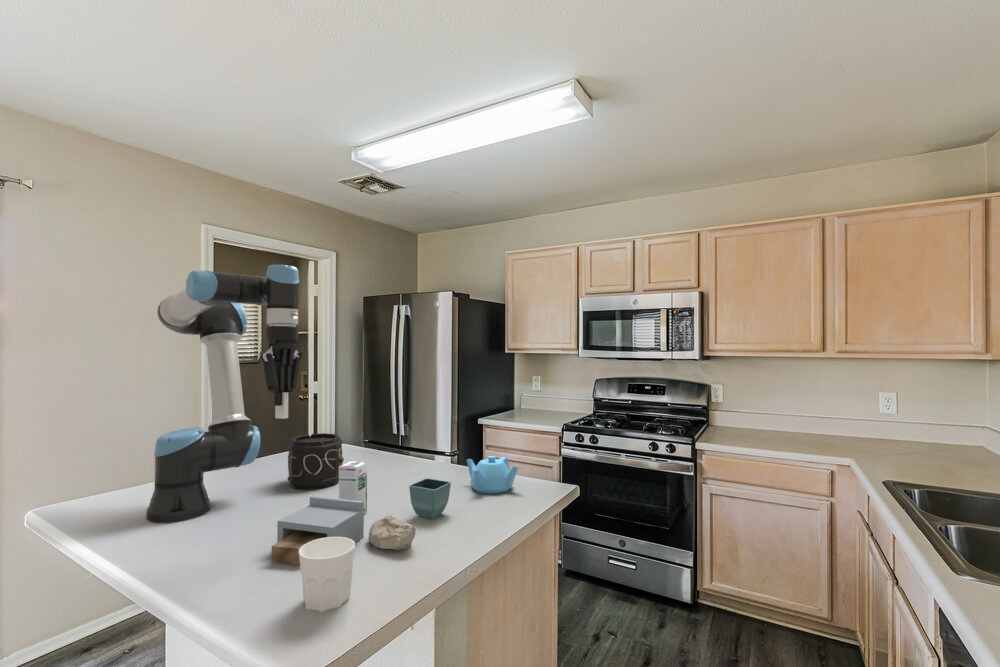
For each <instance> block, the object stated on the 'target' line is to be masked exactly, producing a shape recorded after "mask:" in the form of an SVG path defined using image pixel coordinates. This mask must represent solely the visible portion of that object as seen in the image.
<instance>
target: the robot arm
mask: <svg viewBox="0 0 1000 667" xmlns="http://www.w3.org/2000/svg"><path fill="white" fill-rule="evenodd" d="M266 269H267V270H266V274H265V276H261V275H260V276H259V275H251V274H249V275H247V274H239V273H237V274H236V273H230V272H229V273H228V272H220V271H219V272H218V271H210V270H192V271H190V272H189V273H188V274H187V277H186V280H185V288H184V289H183V290H181V291H180V292H179V293H177V294H171V295H168V296H167V297H165V298H164V299H163V300H162V301H160V303H159V305H158V307H157V317H158V320H159V322H160V323H161V324H162V325H163V326H164V327H165V328H167V329H169V330H171V331H172V332H174V333H177V334H182V335H190V336H191V335H192V336H193V335H195V336H196V335H197V336H198V335H199V341H200V343H201V344H203V345H205V346H206V354H207V366H208V367H207V368H208V375H209V376H208V377H209V379H208V380H209V388H210V397H211V398H210V400H211V409H212V421H211V422H210V423H209V424H208V425H207V429H208V430H207V431H206V430H205V429H204V428H203V427H197V426H196V427H191V428H190V427H188V428H183V429H182V428H181V429H177V430H173V431H170V432H167V433H164V434H162V435H161V436H159V437H158V438H156V441H155V447H154V453H153V456H154V489H153V493H152V495H151V499H150V502H149V505H148V507H147V509H146V514H145V515H146V521H148V522H151V523H155V524H156V523H159V524H163V523H164V524H165V523H174V522H176V523H177V522H181V521H186V520H190V519H194V518H197V517H199V516H203V515H205V514H206V513H208V512H209V511H210V510H211V500H210V497H209V496H208V492H207V489H206V487H205V484H204V474H205V473H209V472H214V471H220V470H225V469H232V468H240V467H241V466H247V465H251V464H252V463H253V462H255V460H256V458H257V457H258V454H259V451H260V447H261V434H260V432H261V431H260V430H259V429H260V428H259V427H257V426H256V425H252V420H251V418H249V417H247V416H246V414H245V405H244V398H243V389H242V388H243V387H242V379H241V378H242V376H241V369H240V360H239V350H238V343H239V342H240V341H241V340H242V336H244V335H245V333H246V332H247V329H248V326H247V325H248V316H247V312H246V310H245V308H244V305H242V304H247V305H255V306H263V307H266V313H265V314H266V316H265V317H266V319H265V320H266V324H267V325H268V326H267V327H266V330H265V331H266V334H265V335H266V338H265V339H266V341H268V342H269V343H268V346H267V350H266V352H265V353H263V352H262V353H260V354H259V356H260V359H261V361H262V364H263V369H264V370H263V371H264V374H265V375H264V376H265V381H266V387H267V388H266V389H267V391H269V392H270V393H271V394H273V393H274V394H273V395H274V398H273V400H274V401H273V402H274V404H273V405H274V408H275V409H274V410H275V412H274V413H275V414H274V417H275V419H278V420H279V419H282V420H285V419H289V404H290V393H293V392H294V389H296V387H297V382H298V381H297V380H298V375H299V370H300V363H301V360H302V358H303V355H304V354H303V352H301V351H300V352H299V351H298V350H297V346H296V342H297V341H298V340H299V328H298V326H297V325H299V300H300V298H299V295H300V274H299V269H298V268H297V267H296V266H294V265H288V264H287V265H286V264H271V265H269V266H268V267H267V268H266Z"/></svg>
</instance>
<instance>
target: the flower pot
mask: <svg viewBox="0 0 1000 667" xmlns="http://www.w3.org/2000/svg"><path fill="white" fill-rule="evenodd" d="M451 483H452V481H447V480H446V481H445V480H440V479H434V478H428V477H426V478H423V479H421V480H419V481H417V482H414V483H411V484H410V485H409V486H408V488H409V495H410V497H409V498H410V504H411V507H412V509H413V511H414V513H415V514H416V516H417V517H420V518H425V519H430V520H432V519H435V518H437V517H438V516H440V515H442V514H443V512H444V510H446V507H447V506H448V505H447V504H448V503H449V500H450V492H451V485H452V484H451Z"/></svg>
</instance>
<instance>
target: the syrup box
mask: <svg viewBox="0 0 1000 667" xmlns="http://www.w3.org/2000/svg"><path fill="white" fill-rule="evenodd" d="M367 465H368V464H367V462H366V461H360V460H359V461H358V460H357V461H355V460H354V461H350V460H349V461H348V462H347V463H346V462H345V463H344V464H342V466H339V482H338V499H348V500H357V501H364V515H365V514H366V513H368V484H367V483H368V481H367V480H368V477H367V476H368V474H367V471H368V470H367V469H368V466H367Z"/></svg>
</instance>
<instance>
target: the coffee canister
mask: <svg viewBox="0 0 1000 667" xmlns="http://www.w3.org/2000/svg"><path fill="white" fill-rule="evenodd" d="M343 443H344V442H343V440H342V439H341V436H340V435H337V434H335V433H326V432H324V433H323V432H321V433H311V435H309V433H308V434H302V435H297V436H295V437H293V438H290V442H288V444H287V448H288V456H287V471H288V476H287V479H286V480H287V481H288V482H289V483H290V486H291V487H292V488H293V489H297V490H306V491H308V490H317V489H318V490H319V489H326V488H329V487H332V486H335V485H337V483H338V484H339V466H342V465H343V462H344V460H345V459H344V457H343V447H342V444H343Z"/></svg>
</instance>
